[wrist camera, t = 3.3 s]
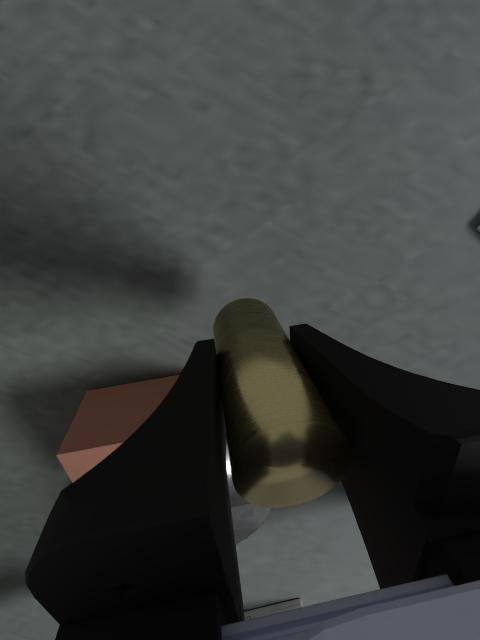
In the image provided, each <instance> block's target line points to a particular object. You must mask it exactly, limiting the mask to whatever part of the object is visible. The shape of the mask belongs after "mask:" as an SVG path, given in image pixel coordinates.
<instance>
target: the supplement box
mask: <svg viewBox="0 0 480 640" xmlns="http://www.w3.org/2000/svg"><path fill="white" fill-rule="evenodd" d="M301 607H303V605H302V601H301V599H300V598H299V599H295V600H291V601H287V602H282V603H278V604H274V605H270V606H266V607H262V608H257V609H253V610H249V611H245V612H244V616H245V620H249V619H254V618H258V617H262V616H267V615H271V614H275V613H280V612H284V611H288V610H293V609H297V608H301Z"/></svg>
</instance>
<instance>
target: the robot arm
mask: <svg viewBox="0 0 480 640" xmlns="http://www.w3.org/2000/svg"><path fill="white" fill-rule="evenodd" d="M290 342H291V344H292V346H293V348H294V349H295V351H296V353H297V355H298V356H299V358H300V360H301V362H302V363H303V365H304V367H305V369H306V370H307V372H308V374H309V376H310V377H311V379H312V381H313V383H314V385H315V386H316V388H317V390H318V392H319V393H320V395H321V397H322V399H323V400H324V402H325V404H326V406H327V407H328V409H329V411H330V413H331V414H332V416H333V418H334V420H335V422H336V423H337V425H338V427H339V429H340V430H341V432H342V434H343V436H344V437H345V439H346V441H347V443H348V445H349V447H350V451H351V460H350V464H349V467H348V470H347V472H346V473H345V475H344V476H343V478H342V479H341V481H342V484H343V486H344V489H345V492H346V494H347V497H348V499H349V502H350V505H351V507H352V510H353V513H354V515H355V518H356V521H357V524H358V526H359V529H360V532H361V535H362V537H363V540H364V543H365V546H366V549H367V551H368V554H369V557H370V560H371V563H372V566H373V569H374V572H375V575H376V578H377V581H378V584H379V587H380V589H379V590H375V591H371V592H366V593H362V594H358V595H353V596H349V597H345V598H340V599H336V600H332V601H327V602H323V603H319V604H314V605H310V606H306V607H301V608H297V609H293V610H288V611H284V612H280V613H275V614H271V615H267V616H262V617H258V618H254V619H249V620H245V616H244V608H243V600H242V592H241V585H240V577H239V569H238V561H237V553H236V545H235V537H234V528H233V520H232V512H231V503H230V495H229V486H228V478H227V466H226V431H225V419H224V411H223V403H222V395H221V387H220V379H219V369H218V361H217V353H216V348H215V342H214V339H209V340H203V341H197V343H196V344H195V346H194V348H193V351H192V353H191V355H190V357H189V359H188V361H187V363H186V365H185V367H184V368H183V370H182V372H181V374H180V376H179V377H178V379H177V380H176V382H175V383H174V385H173V386H172V388H171V389H170V391H169V392H168V394H167V395H166V397H165V398H164V399H163V401H162V402H161V403H160V404H159V406H158V407H157V408H156V409H155V411H154V412H153V413H152V414H151V415H150V416H149V417H148V418H147V419H146V421H145V422H144V423H143V424H142V425H141V426H140V427H139V428H138V429H137V430H136V431H135V432H134V433H133V434H132V435H131V436H130V437H129V438H128V439H126V440H125V441H124V442H123V443H122V444H121V445H120V446H119V447H118V448H116V449H115V450H114V451H113V452H112V453H111V454H109V455H108V456H107V457H106V458H105V459H103V460H102V461H101V462H100V463H98V464H97V465H96V466H94V467H93V468H92V469H90V470H89V471H88V472H86V473H85V474H84V475H82V476H81V477H80V478H78V479H77V480H76V481H74V482H73V483H72V484H70V485H69V486H68V487H66V488H65V489H63V490H62V491H61V493H60V495H59V497H58V499H57V501H56V503H55V505H54V506H53V508H52V510H51V512H50V514H49V517H48V519H47V521H46V524H45V526H44V528H43V531H42V533H41V535H40V538H39V540H38V543H37V545H36V547H35V550H34V552H33V555H32V557H31V559H30V562H29V564H28V567H27V569H26V571H25V574H26V584H27V586H28V588H29V590H30V591H31V593H32V595H33V596H34V598H35V599H36V600H37V601H38V602H39V603H40V604H41V605H42V606H43V607H44V608H45V609H46V610H47V611H48V612H49V614H50V615H51V616H52V617H53V618H54V619H55V620H56V621H57V622H58V623H59V624H60V625H59V629H58V632H57V636H56V639H55V640H480V390H477V389H473V388H468V387H464V386H459V385H455V384H450V383H446V382H442V381H438V380H435V379H431V378H428V377H424V376H421V375H418V374H414V373H411V372H408V371H405V370H402V369H399V368H396V367H394V366H391V365H388V364H386V363H383V362H380V361H378V360H376V359H373V358H371V357H369V356H367V355H364V354H362V353H360V352H358V351H356V350H354V349H352V348H350V347H348V346H346V345H344V344H342V343H340V342H338V341H336V340H335V339H333V338H331V337H329V336H327V335H326V334H324V333H322V332H320V331H319V330H317V329H315V328H313V327H311V326H309V325H307V324H301V325H294V326H290Z"/></svg>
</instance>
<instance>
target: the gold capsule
mask: <svg viewBox="0 0 480 640" xmlns="http://www.w3.org/2000/svg"><path fill="white" fill-rule="evenodd" d="M213 331H214V340H215V347H216V353H217V361H218V369H219V379H220V387H221V395H222V403H223V411H224V419H225V426H226V434H227V442H228V450H229V458H230V466H231V474H232V482H233V485H234V488H235V490H236V492H237V493H238V494H239V495H240V496H241V497H242V498H243V499H244V500H246V501H247V502H249V503H251V504H254V505H257V506H260V507H266V508H287V507H293V506H297V505H301V504H304V503H307V502H310V501H312V500H314V499H316V498H318V497H320V496H322V495H324V494H325V493H327V492H328V491H329V490H331V489H332V488H333V487H334V486H335V485H337V484H338V483H339V481H340V480H341V479H342V478H343V476H344V475H345V473H346V472H347V470H348V467H349V464H350V460H351V451H350V447H349V445H348V443H347V441H346V439H345V437H344V436H343V434H342V432H341V430H340V429H339V427H338V425H337V423H336V422H335V420H334V418H333V416H332V414H331V413H330V411H329V409H328V407H327V406H326V404H325V402H324V400H323V399H322V397H321V395H320V393H319V392H318V390H317V388H316V386H315V385H314V383H313V381H312V379H311V377H310V376H309V374H308V372H307V370H306V369H305V367H304V365H303V363H302V362H301V360H300V358H299V356H298V355H297V353H296V351H295V349H294V348H293V346H292V344H291V342H290V340H289V339H288V337H287V335H286V333H285V332H284V330H283V328H282V326H281V325H280V323H279V321H278V319H277V318H276V316H275V314H274V312H273V311H272V309H271V308H270V307H269V306H268V305H267V304H265V303H264V302H262V301H259V300H256V299H251V298H244V299H238V300H235V301H233V302H231V303H229V304H227V305H226V306H225V307H224V308H222V310H221V311H220V312H219V313H218V315H217V317H216V319H215V321H214V326H213Z"/></svg>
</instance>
